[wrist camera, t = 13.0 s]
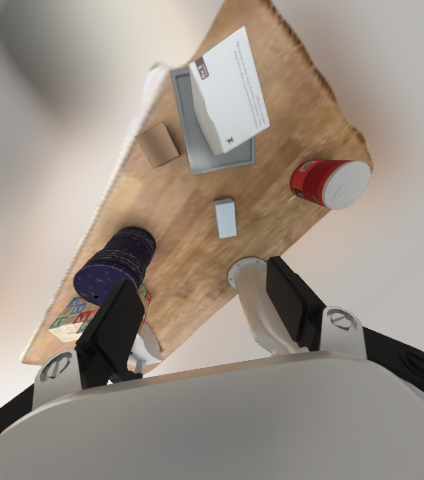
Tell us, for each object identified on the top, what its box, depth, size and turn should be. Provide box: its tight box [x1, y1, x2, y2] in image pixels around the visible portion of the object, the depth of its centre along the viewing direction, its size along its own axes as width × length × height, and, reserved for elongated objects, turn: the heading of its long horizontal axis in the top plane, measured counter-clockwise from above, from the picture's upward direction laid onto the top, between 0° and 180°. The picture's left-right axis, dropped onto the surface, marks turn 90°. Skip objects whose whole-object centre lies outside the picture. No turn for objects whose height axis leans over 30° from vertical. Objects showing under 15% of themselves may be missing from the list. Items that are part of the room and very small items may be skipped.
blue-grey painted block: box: [213, 198, 237, 238], centre depth 36 cm, size 8×4×4 cm, turn 8°
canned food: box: [291, 160, 371, 210], centre depth 30 cm, size 8×8×11 cm
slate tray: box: [170, 68, 255, 175], centre depth 28 cm, size 13×15×2 cm
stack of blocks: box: [48, 284, 151, 343], centre depth 41 cm, size 21×6×12 cm, turn 100°
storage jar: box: [73, 227, 156, 306], centre depth 32 cm, size 10×10×15 cm
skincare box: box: [189, 26, 270, 156], centre depth 21 cm, size 8×6×15 cm
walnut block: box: [136, 122, 181, 168], centre depth 27 cm, size 5×5×5 cm
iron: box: [110, 322, 162, 384], centre depth 50 cm, size 11×24×15 cm, turn 8°
